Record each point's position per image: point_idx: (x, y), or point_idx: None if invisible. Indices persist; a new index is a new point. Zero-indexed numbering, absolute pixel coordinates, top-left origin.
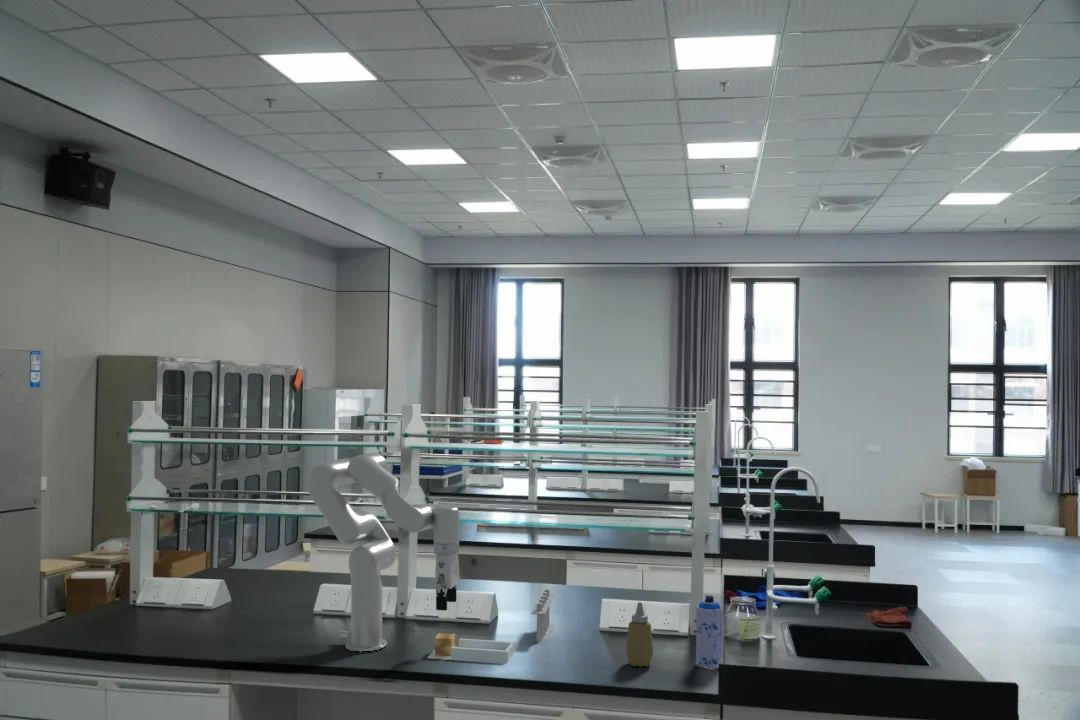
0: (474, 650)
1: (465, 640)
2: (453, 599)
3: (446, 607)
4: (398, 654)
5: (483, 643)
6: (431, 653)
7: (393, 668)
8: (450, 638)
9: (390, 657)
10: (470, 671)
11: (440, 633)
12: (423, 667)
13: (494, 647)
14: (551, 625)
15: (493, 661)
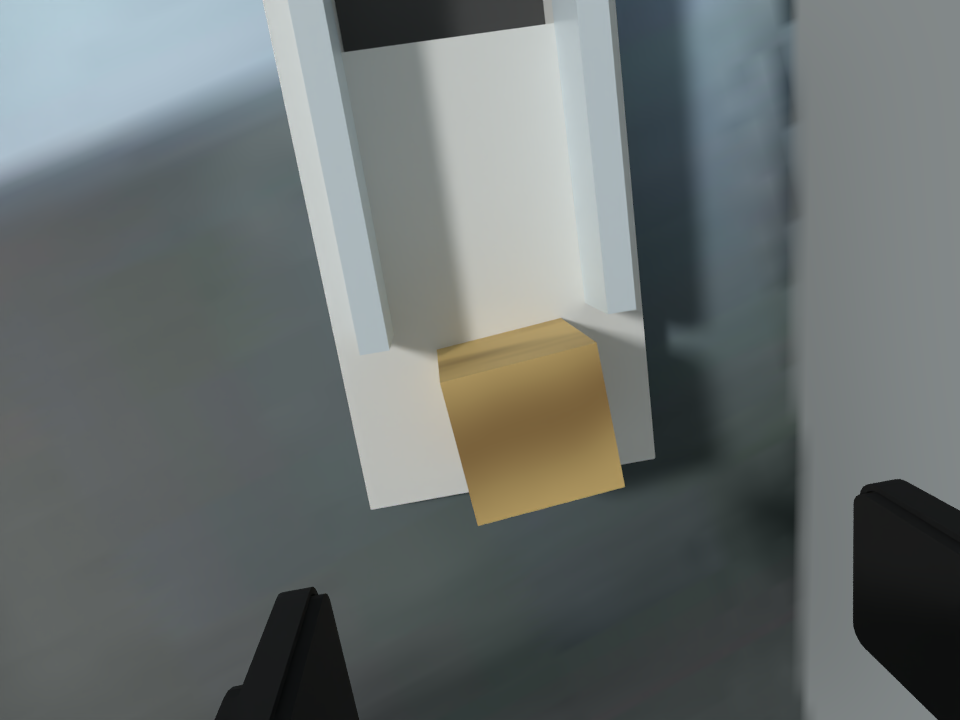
0: (614, 91)
1: (379, 290)
2: (328, 647)
3: (928, 498)
4: (542, 673)
5: (346, 115)
6: None
7: (783, 573)
8: (589, 358)
9: (609, 683)
10: (712, 87)
11: (477, 508)
12: (721, 425)
13: (330, 8)
14: None
15: None
